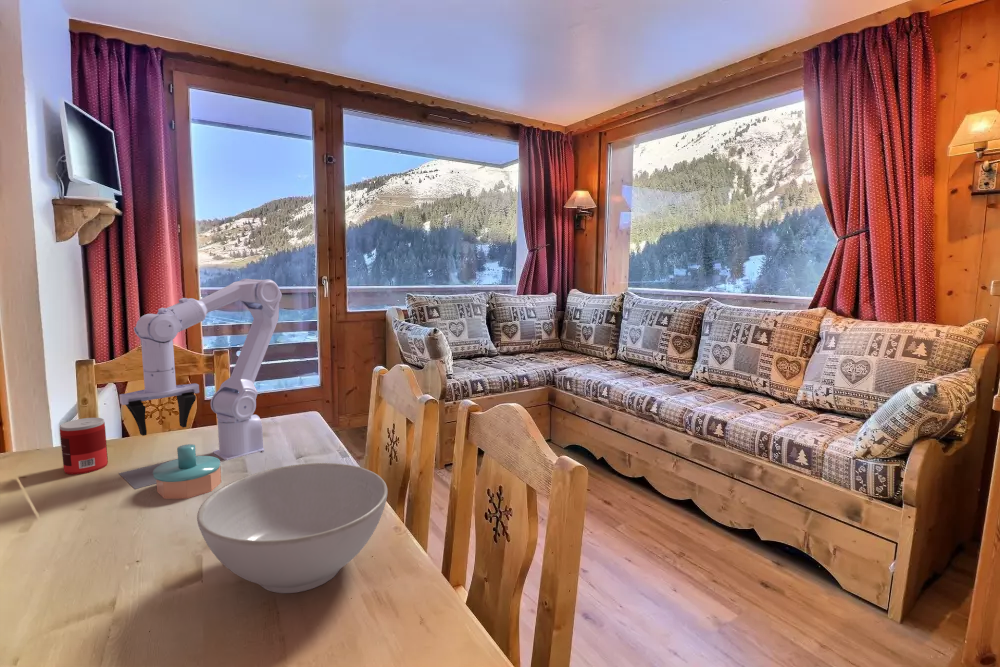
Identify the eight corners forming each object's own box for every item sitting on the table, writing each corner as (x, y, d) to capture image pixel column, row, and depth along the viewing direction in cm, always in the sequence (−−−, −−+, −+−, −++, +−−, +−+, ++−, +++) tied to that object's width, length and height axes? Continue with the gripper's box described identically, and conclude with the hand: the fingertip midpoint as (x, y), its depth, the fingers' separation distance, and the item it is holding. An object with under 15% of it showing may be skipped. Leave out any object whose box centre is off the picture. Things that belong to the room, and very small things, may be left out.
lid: (198, 455, 117) (197, 434, 116) (232, 466, 111) (231, 443, 110) (140, 474, 106) (138, 450, 105) (175, 486, 101) (173, 461, 100)
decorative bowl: (212, 543, 88) (208, 475, 86) (373, 515, 99) (371, 454, 97) (188, 651, 64) (182, 559, 62) (405, 599, 74) (404, 519, 73)
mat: (179, 460, 124) (179, 458, 124) (198, 473, 116) (198, 472, 116) (118, 474, 115) (118, 473, 115) (135, 490, 107) (134, 489, 107)
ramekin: (207, 474, 116) (206, 456, 116) (227, 488, 109) (226, 469, 109) (152, 489, 108) (151, 470, 108) (170, 505, 101) (168, 485, 101)
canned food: (116, 463, 122) (112, 418, 120) (86, 477, 114) (82, 428, 112) (86, 461, 122) (82, 416, 121) (54, 475, 114) (49, 427, 113)
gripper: (189, 362, 120) (193, 419, 122) (113, 371, 109) (118, 433, 111) (201, 366, 116) (204, 425, 117) (123, 376, 105) (128, 441, 106)
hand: (163, 430), depth 114 cm, fingers open, 7 cm apart
